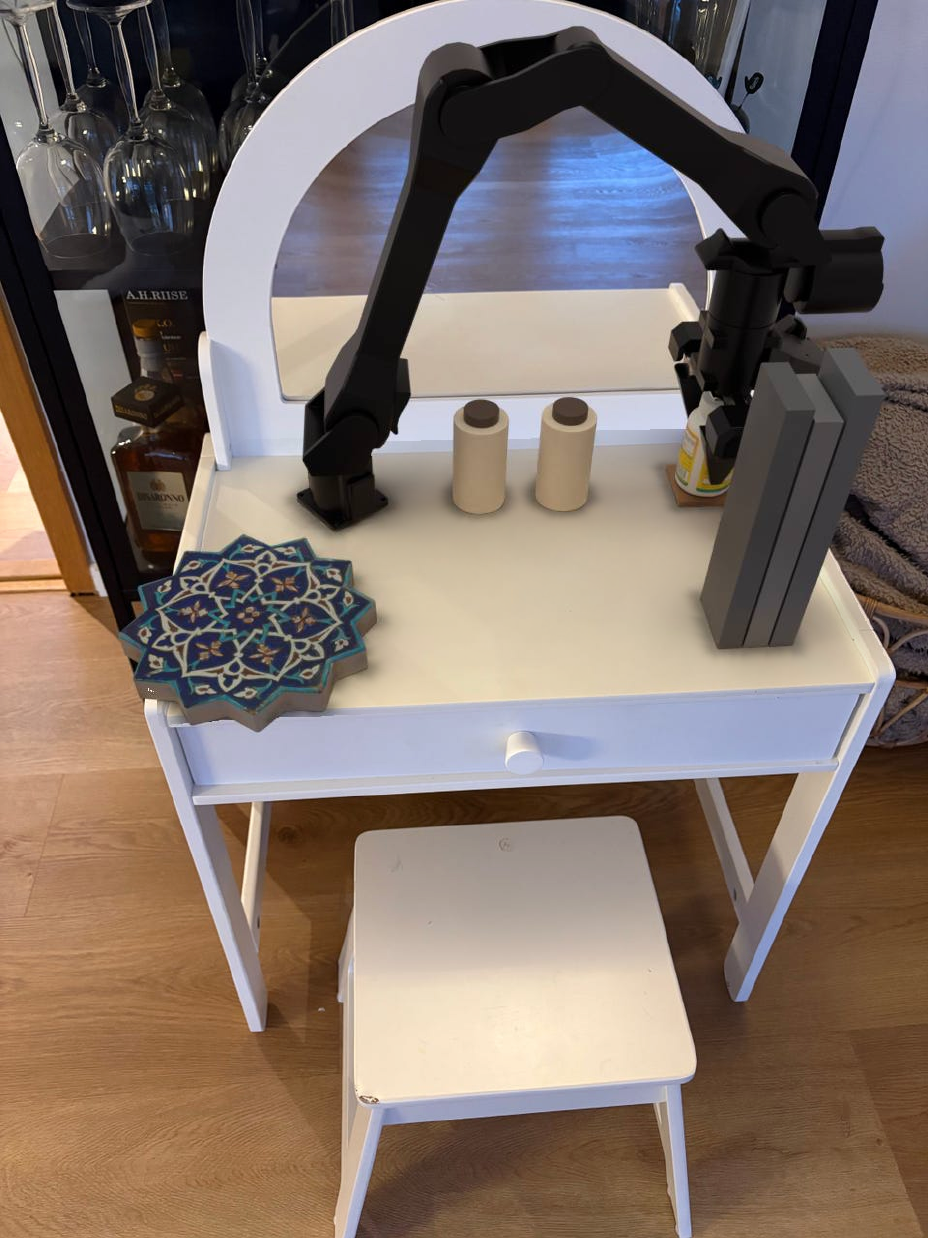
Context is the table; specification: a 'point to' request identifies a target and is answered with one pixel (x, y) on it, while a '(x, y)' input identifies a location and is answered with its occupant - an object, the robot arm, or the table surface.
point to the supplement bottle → (698, 454)
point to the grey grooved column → (787, 496)
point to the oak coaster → (689, 499)
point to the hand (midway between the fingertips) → (706, 463)
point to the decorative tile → (249, 632)
